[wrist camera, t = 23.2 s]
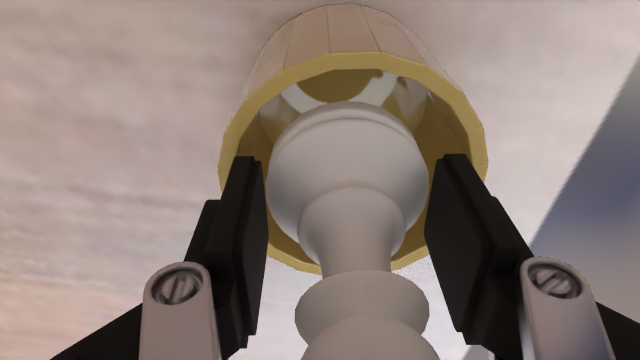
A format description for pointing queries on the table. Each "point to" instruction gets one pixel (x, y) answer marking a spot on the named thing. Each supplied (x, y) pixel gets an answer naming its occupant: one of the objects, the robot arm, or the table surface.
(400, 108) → the yellow cup
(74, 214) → the table surface
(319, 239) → the chess pawn
